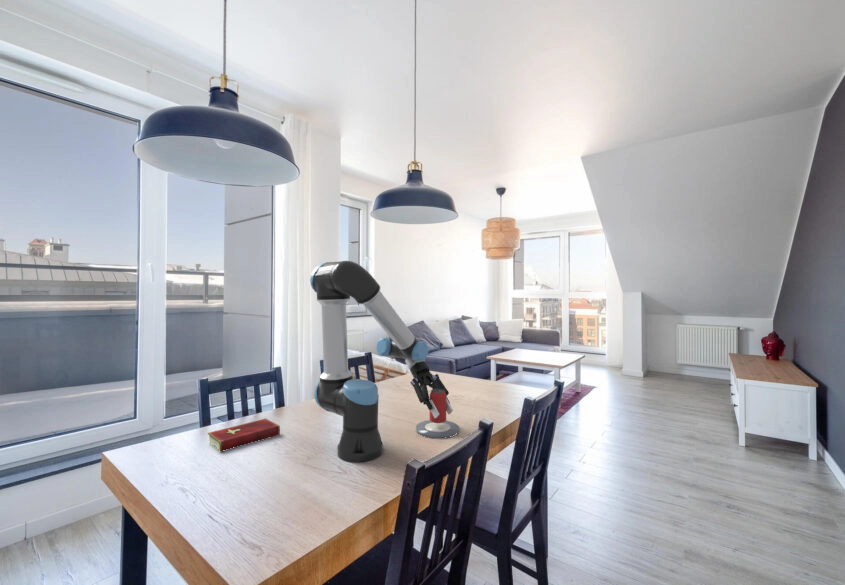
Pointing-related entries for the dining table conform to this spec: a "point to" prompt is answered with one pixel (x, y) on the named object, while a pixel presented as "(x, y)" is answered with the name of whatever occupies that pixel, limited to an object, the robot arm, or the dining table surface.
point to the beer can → (438, 405)
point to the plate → (437, 429)
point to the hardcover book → (243, 434)
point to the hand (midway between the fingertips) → (444, 414)
